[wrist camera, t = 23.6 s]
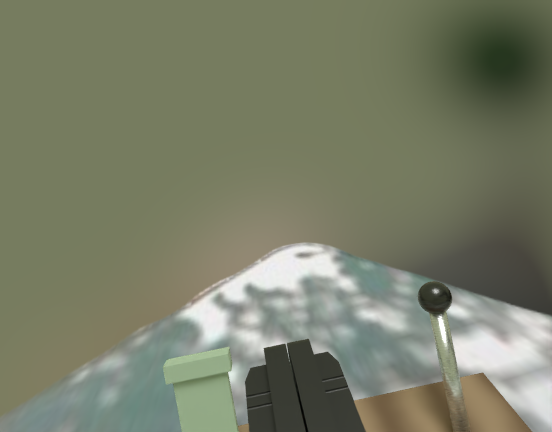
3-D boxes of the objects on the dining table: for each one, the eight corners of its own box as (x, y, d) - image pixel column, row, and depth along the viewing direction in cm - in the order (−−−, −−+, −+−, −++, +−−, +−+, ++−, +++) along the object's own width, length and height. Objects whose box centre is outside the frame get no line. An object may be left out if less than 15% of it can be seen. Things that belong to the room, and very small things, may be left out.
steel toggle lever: (470, 429, 41) (439, 277, 42) (488, 445, 38) (454, 280, 39) (440, 436, 41) (409, 283, 42) (456, 452, 38) (422, 286, 38)
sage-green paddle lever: (254, 481, 39) (229, 346, 39) (254, 496, 37) (228, 353, 37) (192, 495, 38) (167, 359, 38) (189, 511, 36) (162, 367, 36)
